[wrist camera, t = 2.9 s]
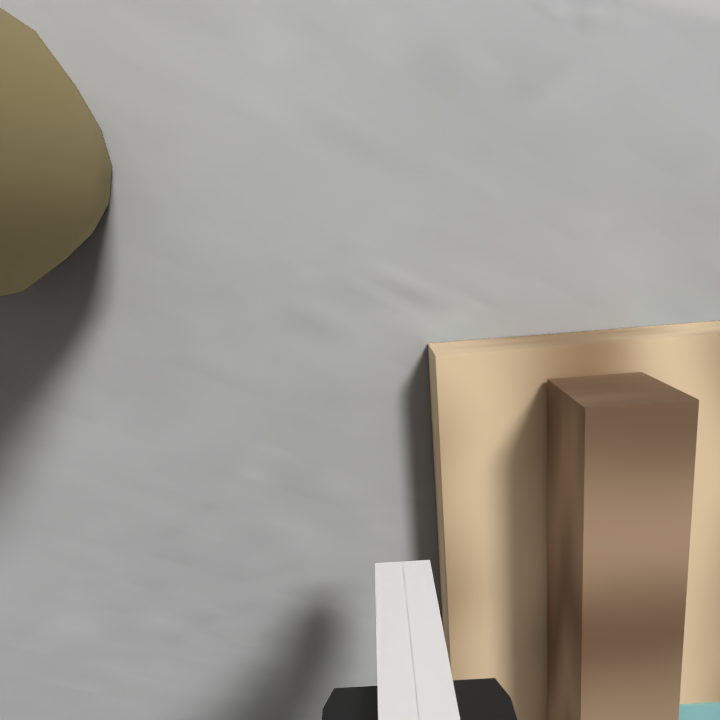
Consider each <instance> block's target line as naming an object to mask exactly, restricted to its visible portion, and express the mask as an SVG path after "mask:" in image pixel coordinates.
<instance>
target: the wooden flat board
mask: <svg viewBox="0 0 720 720" xmlns="http://www.w3.org/2000/svg"><path fill="white" fill-rule="evenodd" d="M428 354H429V373H430V392H431V411H432V430H433V449H434V468H435V487H436V506H437V525H438V544H439V563H440V582H441V601H442V620H443V631H444V637H445V642H446V647H447V652H448V658H449V663H450V668H451V674H452V679H453V680H467V679H485V678H495V679H496V680H497V681H498V682H499V684H500V685H501V686H502V687H503V689H504V690H505V691H506V692H507V694H508V695H509V696H510V697H511V700H512V703H513V707H514V710H515V713H516V716H517V720H548V587H547V379H554V378H567V377H580V376H593V375H606V374H619V373H632V372H643V373H645V374H647V375H649V376H651V377H653V378H655V379H657V380H659V381H662V382H664V383H666V384H668V385H670V386H672V387H674V388H676V389H678V390H680V391H682V392H684V393H686V394H688V395H690V396H693V397H695V398H697V399H699V411H698V426H697V442H696V457H695V472H694V488H693V503H692V519H691V534H690V549H689V565H688V580H687V596H686V611H685V626H684V642H683V657H682V672H681V688H680V703H679V719H678V720H720V321H710V322H698V323H685V324H672V325H659V326H647V327H634V328H621V329H608V330H595V331H583V332H570V333H557V334H544V335H532V336H519V337H506V338H493V339H480V340H468V341H455V342H442V343H429V344H428Z"/></svg>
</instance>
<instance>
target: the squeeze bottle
mask: <svg viewBox="0 0 720 720" xmlns="http://www.w3.org/2000/svg"><path fill="white" fill-rule="evenodd" d="M111 176H112V164H111V161H110V157H109V154H108V151H107V147H106V144H105V140H104V137H103V134H102V130H101V128H100V127H99V125H98V123H97V122H96V120H95V118H94V116H93V115H92V113H91V111H90V109H89V108H88V106H87V104H86V103H85V101H84V99H83V97H82V96H81V94H80V92H79V90H78V89H77V87H76V86H75V84H74V83H73V82H72V80H71V79H70V77H69V76H68V75H67V73H66V72H65V71H64V69H63V68H62V67H61V65H60V64H59V62H58V61H57V60H56V58H55V57H54V56H53V54H52V53H51V52H50V50H49V49H48V48H47V46H46V45H45V43H44V42H43V41H42V39H41V38H40V37H39V35H38V34H37V33H36V31H34V30H33V29H31V28H30V27H28V26H27V25H25V24H24V23H22V22H21V21H19V20H18V19H16V18H15V17H13V16H12V15H10V14H9V13H7V12H6V11H4V10H3V9H1V8H0V296H5V295H9V294H14V293H18V292H23V291H24V290H26V289H27V288H28V287H30V286H31V285H32V284H34V283H35V282H36V281H38V280H39V279H40V278H42V277H43V276H44V275H46V274H47V273H48V272H50V271H51V270H52V269H54V268H55V267H56V266H57V265H59V264H60V263H61V262H63V261H64V260H65V259H66V258H67V257H69V256H70V255H71V254H72V253H73V252H74V251H75V250H76V249H77V248H78V247H79V246H80V245H81V244H82V243H83V242H84V241H85V240H86V239H87V238H88V237H89V236H90V235H91V234H92V233H93V232H94V231H95V229H96V227H97V225H98V223H99V221H100V219H101V217H102V215H103V214H104V212H105V210H106V208H107V206H108V204H109V201H110V189H111Z"/></svg>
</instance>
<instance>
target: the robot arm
mask: <svg viewBox="0 0 720 720" xmlns="http://www.w3.org/2000/svg"><path fill="white" fill-rule="evenodd" d="M375 587H376V637H377V686H368V687H349V688H334V690H333V692H332V693H331V695H330V697H329V699H328V701H327V703H326V704H325V706H324V708H323V714H322V720H517V716H516V713H515V710H514V707H513V703H512V700H511V697H510V696H509V695H508V694H507V692H506V691H505V690H504V689H503V687H502V686H501V685H500V684H499V682H498V681H497V680H496V679H495V678H485V679H467V680H453V679H452V674H451V668H450V663H449V658H448V652H447V647H446V642H445V637H444V631H443V626H442V621H441V616H440V610H439V605H438V600H437V595H436V589H435V584H434V579H433V574H432V568H431V563H430V560H420V561H403V562H387V563H375Z"/></svg>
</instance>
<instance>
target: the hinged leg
mask: <svg viewBox="0 0 720 720" xmlns="http://www.w3.org/2000/svg"><path fill="white" fill-rule="evenodd" d="M698 411H699V399H697V398H695V397H693V396H690V395H688V394H686V393H684V392H682V391H680V390H678V389H676V388H674V387H672V386H670V385H668V384H666V383H664V382H662V381H659V380H657V379H655V378H653V377H651V376H649V375H647V374H645V373H643V372H632V373H619V374H606V375H593V376H580V377H567V378H554V379H547V587H548V720H678V719H679V703H680V688H681V672H682V657H683V642H684V626H685V611H686V596H687V580H688V565H689V549H690V534H691V519H692V503H693V488H694V472H695V457H696V442H697V426H698Z"/></svg>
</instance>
